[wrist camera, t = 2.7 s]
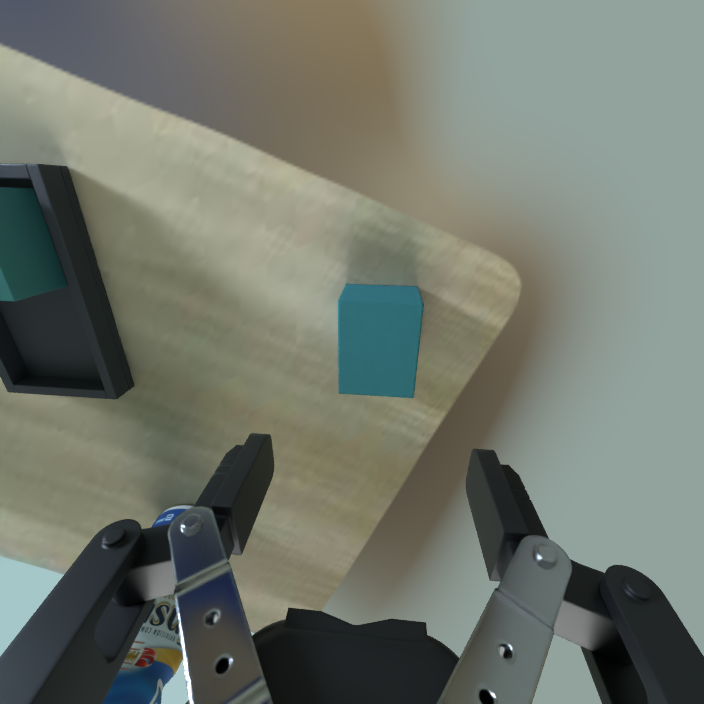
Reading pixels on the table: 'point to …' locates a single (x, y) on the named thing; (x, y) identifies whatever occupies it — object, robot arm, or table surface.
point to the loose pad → (379, 339)
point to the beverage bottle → (151, 648)
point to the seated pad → (26, 247)
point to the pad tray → (61, 306)
